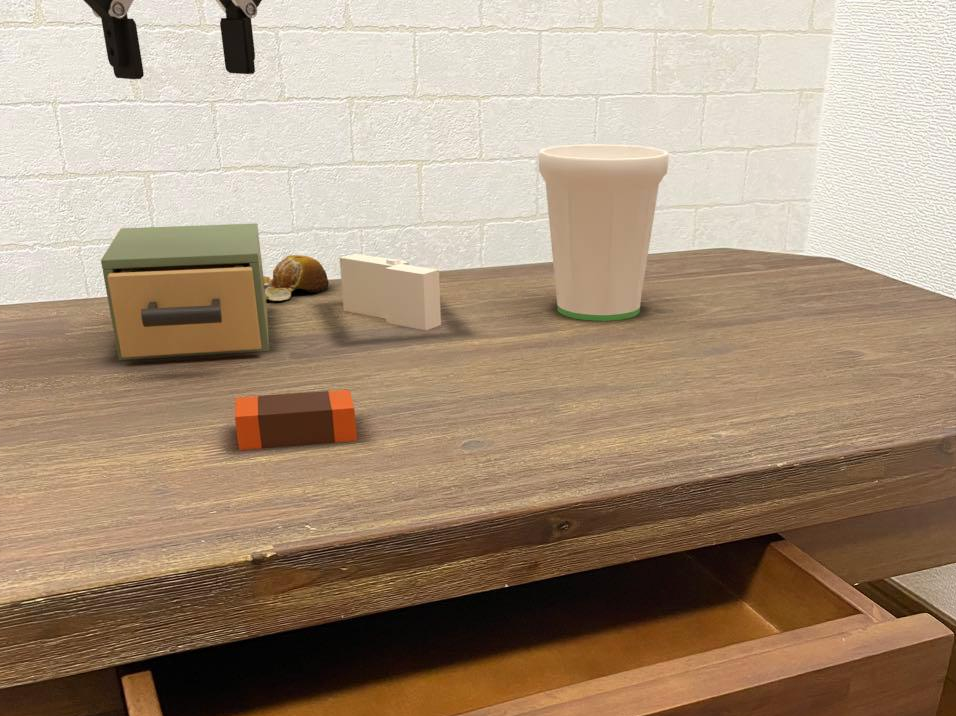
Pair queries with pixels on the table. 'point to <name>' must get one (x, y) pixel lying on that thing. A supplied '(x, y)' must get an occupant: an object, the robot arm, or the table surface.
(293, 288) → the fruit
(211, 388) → the table surface
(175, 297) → the drawer
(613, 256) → the cup
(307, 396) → the chocolate bar
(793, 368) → the table surface
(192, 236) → the cabinet
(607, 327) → the table surface
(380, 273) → the napkin holder
